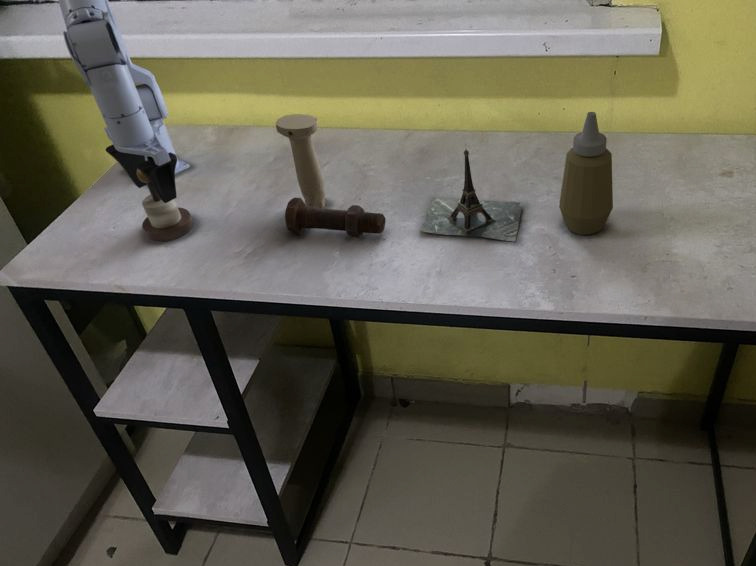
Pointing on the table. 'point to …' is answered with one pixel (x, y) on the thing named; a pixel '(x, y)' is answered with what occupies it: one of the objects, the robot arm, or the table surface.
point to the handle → (304, 156)
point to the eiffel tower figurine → (473, 214)
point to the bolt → (332, 219)
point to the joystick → (163, 216)
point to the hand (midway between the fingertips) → (156, 192)
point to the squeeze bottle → (587, 181)
